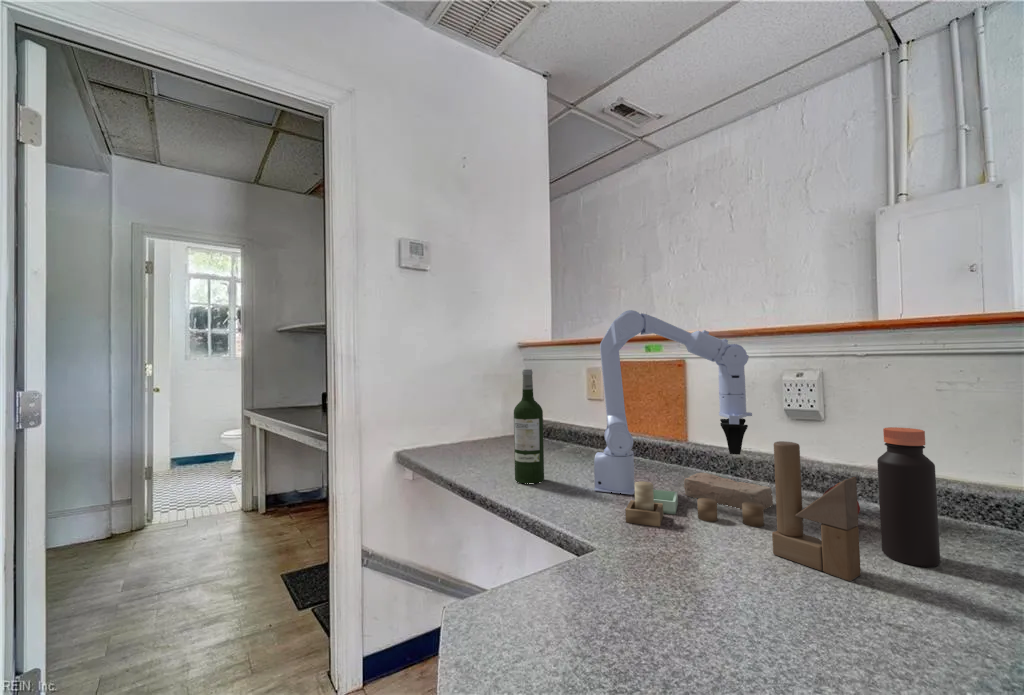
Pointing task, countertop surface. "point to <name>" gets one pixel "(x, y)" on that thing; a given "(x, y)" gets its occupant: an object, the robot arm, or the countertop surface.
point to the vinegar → (908, 499)
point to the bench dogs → (750, 512)
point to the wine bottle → (528, 435)
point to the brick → (727, 490)
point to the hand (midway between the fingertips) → (734, 451)
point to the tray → (666, 500)
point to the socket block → (644, 514)
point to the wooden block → (815, 519)
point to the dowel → (644, 496)
